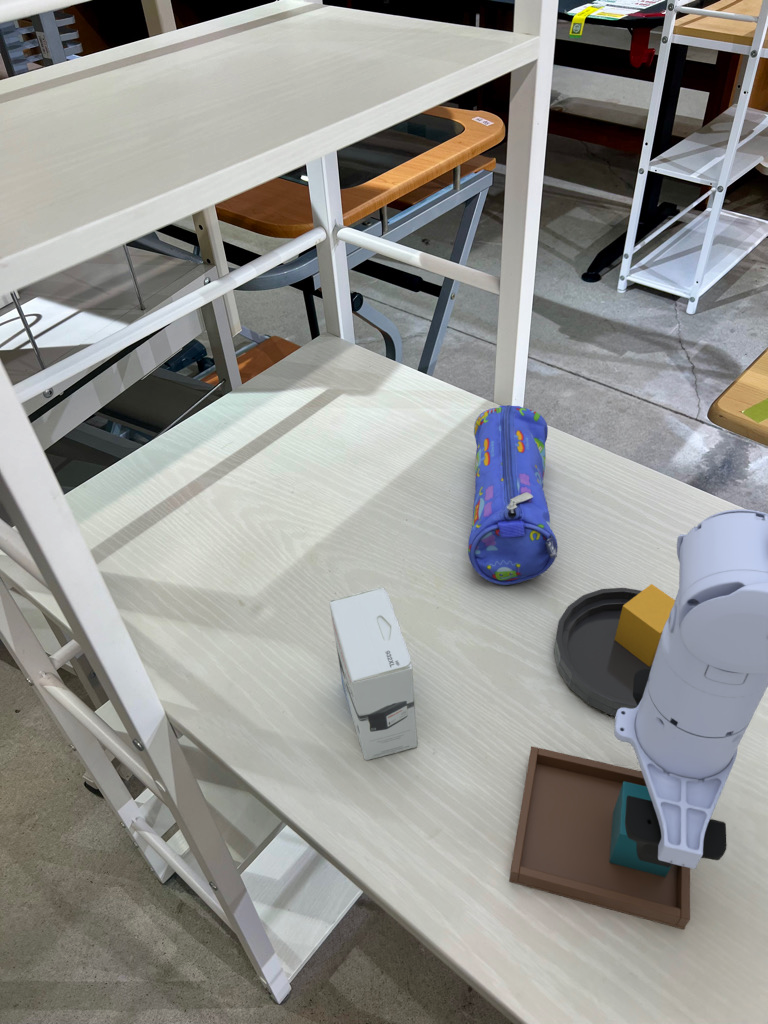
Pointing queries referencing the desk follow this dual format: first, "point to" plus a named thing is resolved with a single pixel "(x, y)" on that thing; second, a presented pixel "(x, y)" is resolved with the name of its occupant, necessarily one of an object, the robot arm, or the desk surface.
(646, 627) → the mustard block
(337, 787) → the desk surface
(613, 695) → the pan
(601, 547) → the desk surface
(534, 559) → the pencil case
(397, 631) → the ink box
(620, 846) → the teal block
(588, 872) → the tray
